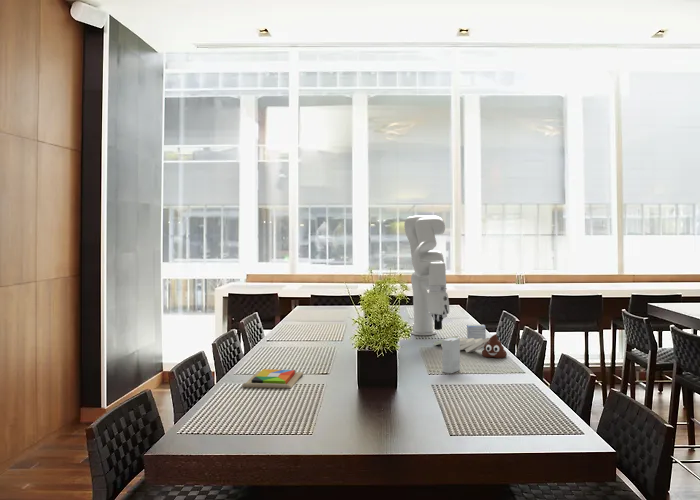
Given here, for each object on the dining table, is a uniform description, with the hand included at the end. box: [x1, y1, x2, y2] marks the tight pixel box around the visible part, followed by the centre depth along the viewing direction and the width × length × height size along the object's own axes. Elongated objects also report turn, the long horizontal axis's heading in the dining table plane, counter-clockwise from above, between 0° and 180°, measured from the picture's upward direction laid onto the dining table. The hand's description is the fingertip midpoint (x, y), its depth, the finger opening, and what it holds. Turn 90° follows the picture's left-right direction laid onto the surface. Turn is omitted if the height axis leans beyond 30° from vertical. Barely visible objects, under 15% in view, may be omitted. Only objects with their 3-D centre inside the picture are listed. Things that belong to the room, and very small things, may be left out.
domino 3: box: [460, 338, 474, 346], centre depth 255 cm, size 2×5×11 cm
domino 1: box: [432, 335, 459, 346], centre depth 263 cm, size 2×5×11 cm
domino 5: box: [464, 337, 491, 354], centre depth 247 cm, size 2×5×11 cm
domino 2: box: [440, 336, 467, 347], centre depth 259 cm, size 2×5×11 cm
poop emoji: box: [481, 333, 508, 359], centre depth 241 cm, size 10×8×9 cm
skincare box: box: [441, 337, 461, 374], centre depth 218 cm, size 6×4×12 cm
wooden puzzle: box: [241, 368, 304, 389], centre depth 210 cm, size 18×19×4 cm
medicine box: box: [466, 324, 487, 339], centre depth 267 cm, size 8×4×9 cm, turn 84°
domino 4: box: [460, 338, 482, 352], centre depth 251 cm, size 2×5×11 cm
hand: (438, 329), depth 267 cm, fingers closed
